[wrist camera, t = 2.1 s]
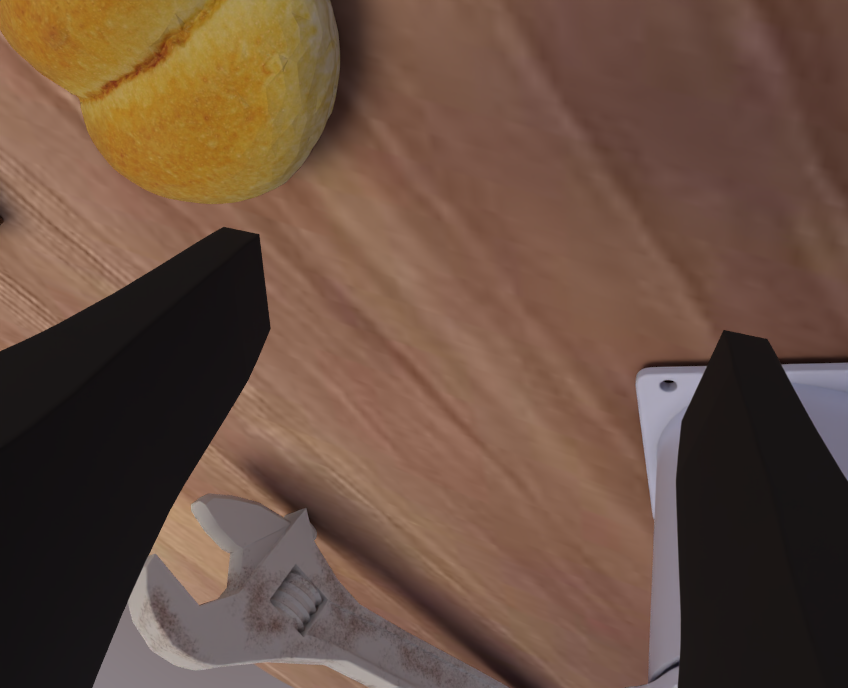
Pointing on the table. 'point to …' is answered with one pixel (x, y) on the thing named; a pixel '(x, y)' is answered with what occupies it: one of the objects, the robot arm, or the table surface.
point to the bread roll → (190, 85)
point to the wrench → (282, 609)
